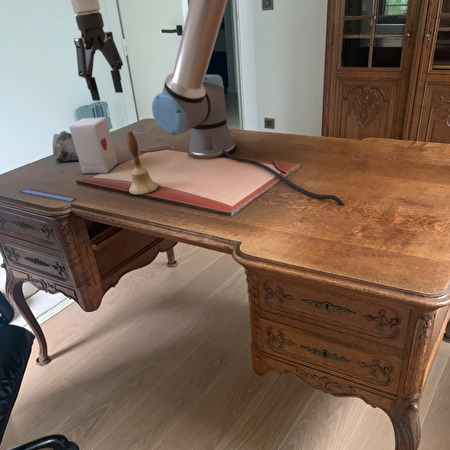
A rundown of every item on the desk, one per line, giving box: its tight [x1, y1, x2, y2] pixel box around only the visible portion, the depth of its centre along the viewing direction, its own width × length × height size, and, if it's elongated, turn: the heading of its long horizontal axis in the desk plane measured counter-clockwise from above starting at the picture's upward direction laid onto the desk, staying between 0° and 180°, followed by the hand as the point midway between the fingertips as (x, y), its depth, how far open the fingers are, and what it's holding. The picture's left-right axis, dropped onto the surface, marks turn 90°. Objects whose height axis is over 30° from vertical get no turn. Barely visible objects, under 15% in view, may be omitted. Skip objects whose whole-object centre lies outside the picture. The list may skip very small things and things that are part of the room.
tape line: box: [21, 189, 75, 202], centre depth 129 cm, size 22×2×1 cm, turn 58°
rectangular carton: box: [68, 116, 118, 174], centre depth 140 cm, size 9×9×15 cm
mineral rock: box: [52, 130, 79, 163], centre depth 152 cm, size 13×11×10 cm
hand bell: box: [126, 130, 159, 196], centre depth 121 cm, size 8×8×16 cm
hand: (108, 96), depth 140 cm, fingers open, 10 cm apart
